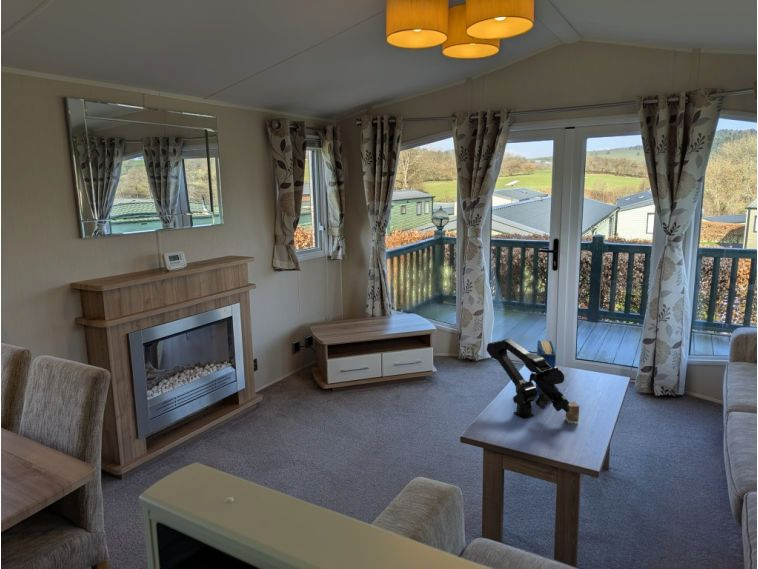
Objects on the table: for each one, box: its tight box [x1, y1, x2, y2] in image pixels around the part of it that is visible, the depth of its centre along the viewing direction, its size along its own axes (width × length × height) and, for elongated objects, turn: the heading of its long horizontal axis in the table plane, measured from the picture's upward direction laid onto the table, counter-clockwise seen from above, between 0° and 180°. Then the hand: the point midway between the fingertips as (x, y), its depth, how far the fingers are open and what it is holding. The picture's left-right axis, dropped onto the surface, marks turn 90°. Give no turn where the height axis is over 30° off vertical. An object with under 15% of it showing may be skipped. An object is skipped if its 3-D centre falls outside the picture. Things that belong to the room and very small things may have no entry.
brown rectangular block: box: [564, 401, 580, 425], centre depth 231 cm, size 4×5×8 cm
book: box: [535, 340, 557, 396], centre depth 261 cm, size 22×7×25 cm, turn 168°
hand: (567, 411), depth 230 cm, fingers closed
